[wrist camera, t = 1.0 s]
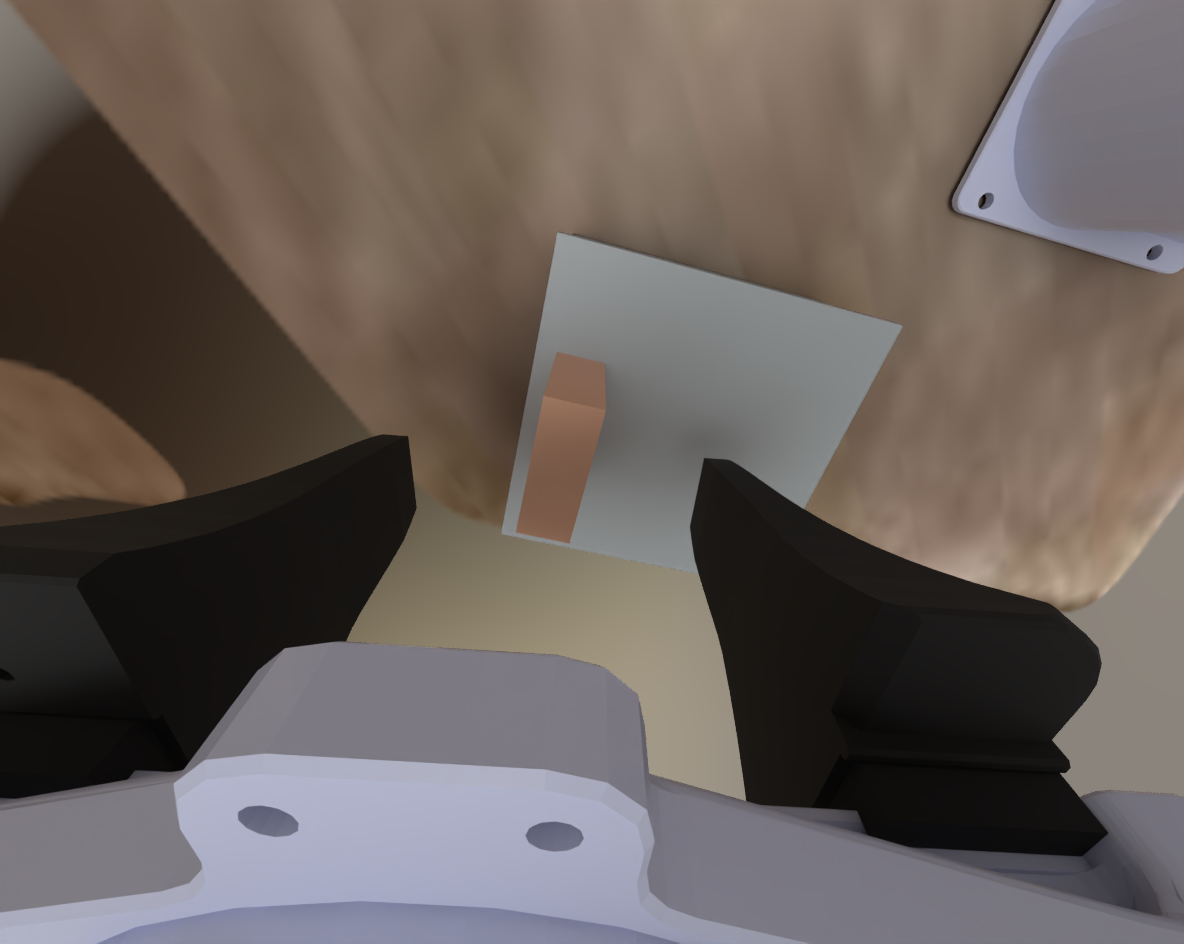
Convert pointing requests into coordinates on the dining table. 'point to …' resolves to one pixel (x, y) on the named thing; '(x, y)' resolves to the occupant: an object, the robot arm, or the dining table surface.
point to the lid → (675, 398)
